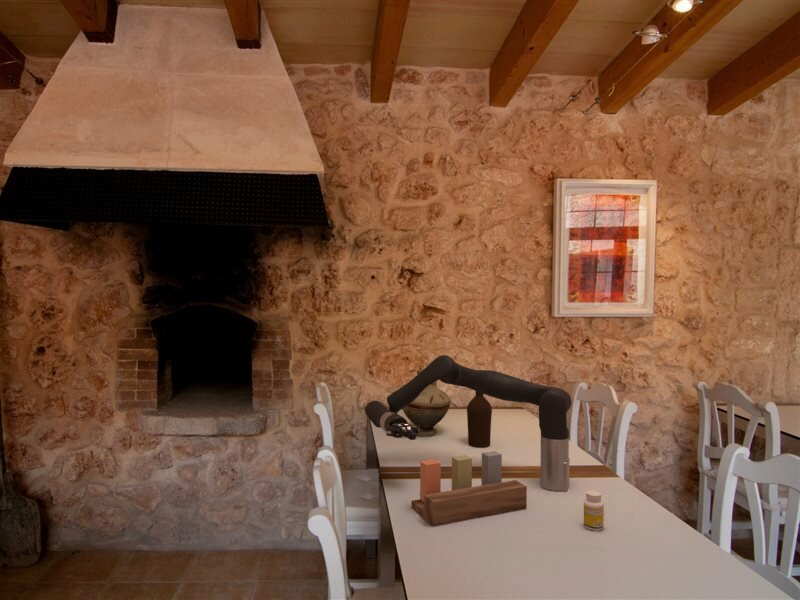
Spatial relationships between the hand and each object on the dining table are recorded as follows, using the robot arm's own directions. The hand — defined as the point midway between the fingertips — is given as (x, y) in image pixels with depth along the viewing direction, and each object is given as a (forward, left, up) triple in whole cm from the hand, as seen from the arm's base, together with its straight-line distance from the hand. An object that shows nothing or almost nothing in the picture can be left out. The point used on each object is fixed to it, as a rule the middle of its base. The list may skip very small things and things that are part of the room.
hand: (413, 436), depth 181 cm
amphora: (+24, -71, -19) cm, 78 cm away
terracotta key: (-9, +8, -17) cm, 21 cm away
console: (-20, +3, -19) cm, 28 cm away
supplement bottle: (-56, +2, -19) cm, 59 cm away
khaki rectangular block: (-17, 0, -17) cm, 23 cm away
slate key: (-24, -8, -17) cm, 30 cm away
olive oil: (-4, -64, -19) cm, 67 cm away
